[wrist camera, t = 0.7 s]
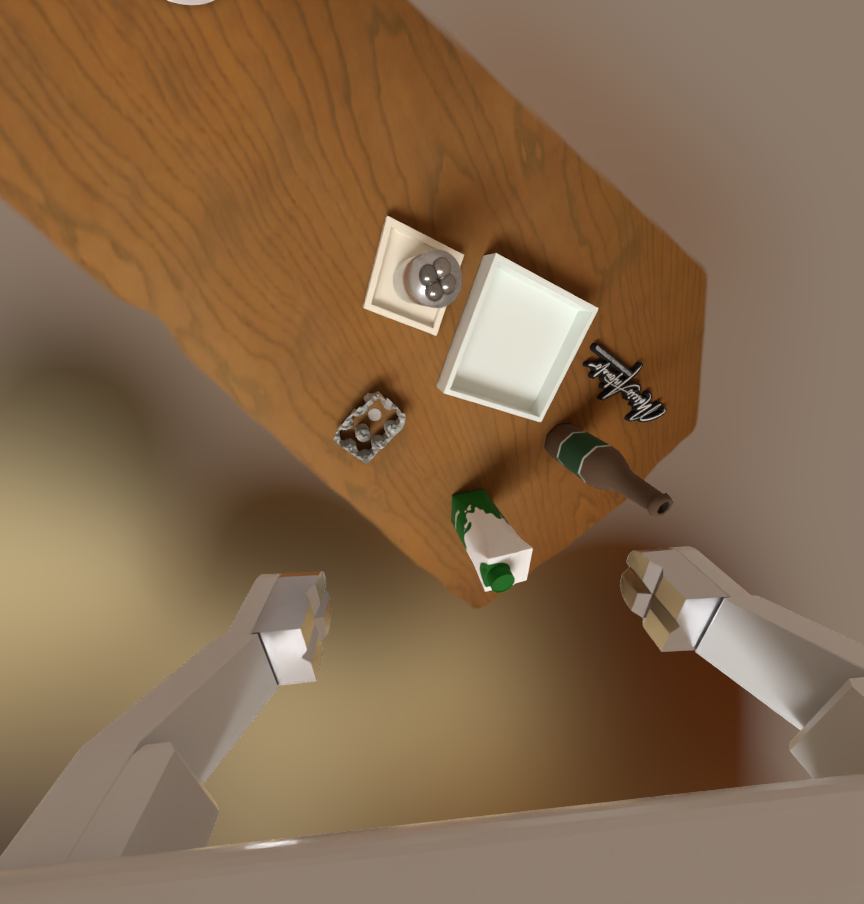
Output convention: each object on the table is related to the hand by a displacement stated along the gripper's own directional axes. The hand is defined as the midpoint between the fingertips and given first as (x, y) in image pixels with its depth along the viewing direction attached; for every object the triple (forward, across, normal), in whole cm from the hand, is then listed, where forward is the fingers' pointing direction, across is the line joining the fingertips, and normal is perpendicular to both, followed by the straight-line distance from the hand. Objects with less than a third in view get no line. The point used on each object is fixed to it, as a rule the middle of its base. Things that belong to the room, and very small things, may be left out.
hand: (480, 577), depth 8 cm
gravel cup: (+44, +1, -9) cm, 45 cm away
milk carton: (+49, -9, +32) cm, 59 cm away
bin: (+48, -15, 0) cm, 51 cm away
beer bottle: (+52, -29, +20) cm, 63 cm away
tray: (+44, +1, -9) cm, 45 cm away
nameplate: (+55, -42, +10) cm, 70 cm away
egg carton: (+44, +9, +11) cm, 46 cm away
